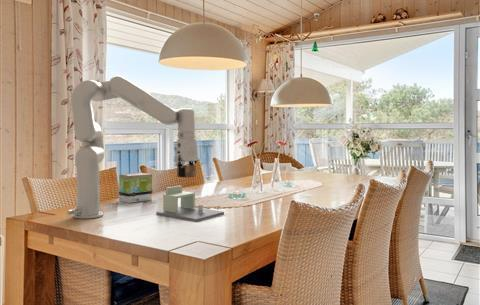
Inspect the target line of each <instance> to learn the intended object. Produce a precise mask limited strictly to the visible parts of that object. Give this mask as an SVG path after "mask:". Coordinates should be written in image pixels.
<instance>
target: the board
mask: <svg viewBox="0 0 480 305" xmlns="http://www.w3.org/2000/svg"><path fill="white" fill-rule="evenodd" d="M155 214H156V215H157V216H162V217H168V218H173V219H179V220H185V221H191V222H196V223H197V222H200V221H201V222H202V221H204V220H208V219H212V218H215V217H220V216H223V215H225V211H221V210H216V209H209V208H204V205H203V204H202V203H201V204H198V207H197V206H195V208H194V209H192V208H186V207H181V206H178V212H177V213H175V212H169V211H163V210H159V211H156V213H155Z"/></svg>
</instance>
